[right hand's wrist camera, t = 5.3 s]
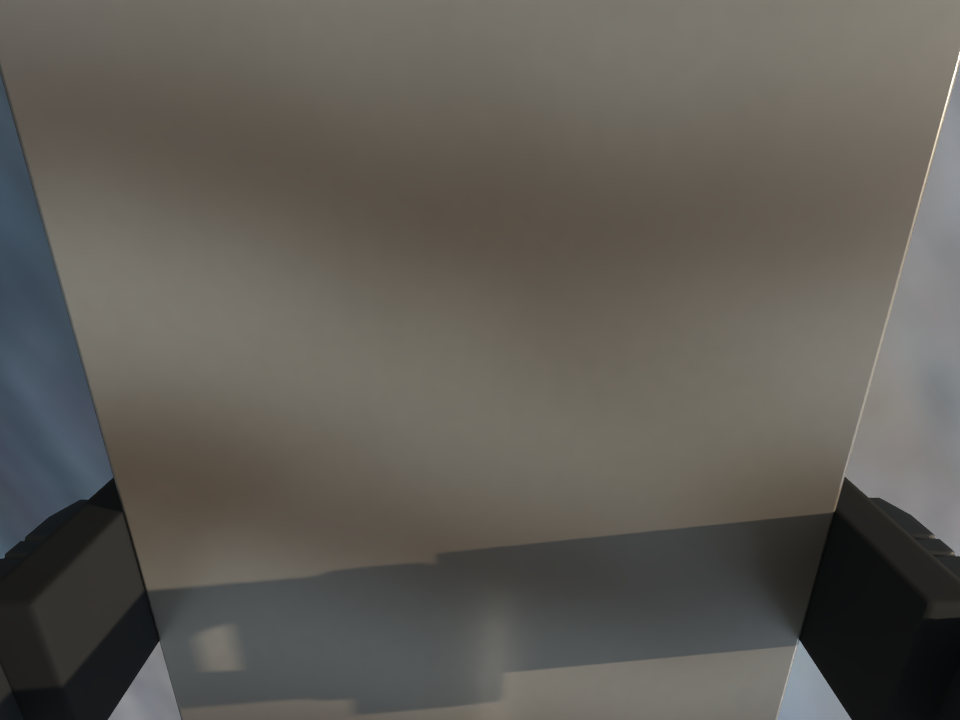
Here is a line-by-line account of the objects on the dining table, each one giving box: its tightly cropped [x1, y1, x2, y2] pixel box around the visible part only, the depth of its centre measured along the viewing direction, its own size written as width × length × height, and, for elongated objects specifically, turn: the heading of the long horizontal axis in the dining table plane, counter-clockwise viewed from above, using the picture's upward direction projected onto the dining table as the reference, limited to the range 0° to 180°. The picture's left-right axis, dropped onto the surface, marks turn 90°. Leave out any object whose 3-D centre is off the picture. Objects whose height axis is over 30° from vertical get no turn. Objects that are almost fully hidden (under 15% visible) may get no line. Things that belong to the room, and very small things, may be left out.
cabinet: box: [0, 0, 960, 720], centre depth 11 cm, size 21×11×8 cm, turn 0°
